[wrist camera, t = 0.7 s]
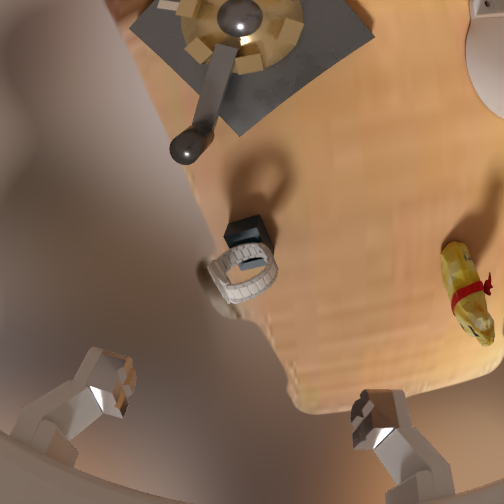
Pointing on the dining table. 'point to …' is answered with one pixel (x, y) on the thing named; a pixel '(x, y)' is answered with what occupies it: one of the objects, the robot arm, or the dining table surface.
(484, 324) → the chocolate bunny
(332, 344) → the dining table surface
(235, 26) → the ball knob lever
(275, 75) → the plate
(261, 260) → the watch
